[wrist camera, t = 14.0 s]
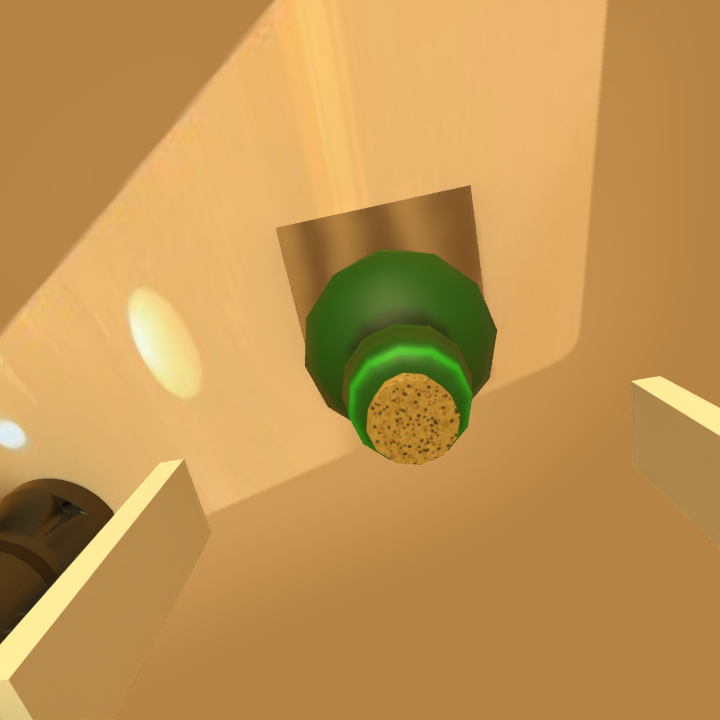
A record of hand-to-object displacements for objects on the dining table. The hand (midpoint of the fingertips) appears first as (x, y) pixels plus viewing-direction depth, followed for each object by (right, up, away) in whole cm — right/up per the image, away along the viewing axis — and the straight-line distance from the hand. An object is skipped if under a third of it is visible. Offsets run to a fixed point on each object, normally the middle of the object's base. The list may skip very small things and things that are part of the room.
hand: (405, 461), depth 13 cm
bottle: (+1, +9, +29) cm, 31 cm away
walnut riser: (+1, +10, +32) cm, 33 cm away
